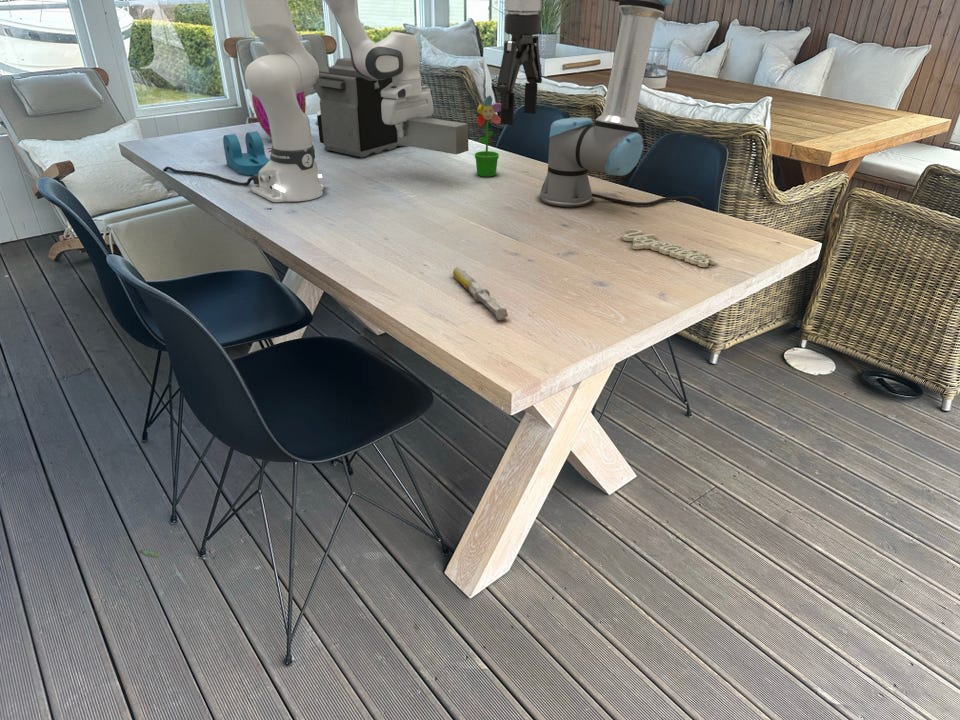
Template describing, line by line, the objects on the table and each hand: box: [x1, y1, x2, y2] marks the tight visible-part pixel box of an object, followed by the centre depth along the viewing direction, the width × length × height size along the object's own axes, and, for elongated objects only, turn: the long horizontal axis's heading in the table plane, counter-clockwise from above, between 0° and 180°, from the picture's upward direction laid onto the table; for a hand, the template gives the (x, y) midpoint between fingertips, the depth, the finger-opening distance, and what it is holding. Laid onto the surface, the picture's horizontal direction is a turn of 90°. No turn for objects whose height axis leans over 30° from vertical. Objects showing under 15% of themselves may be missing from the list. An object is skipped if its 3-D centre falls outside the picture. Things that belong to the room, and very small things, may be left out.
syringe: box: [452, 266, 509, 321], centre depth 145 cm, size 25×4×3 cm, turn 21°
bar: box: [397, 117, 469, 155], centre depth 212 cm, size 24×6×8 cm, turn 52°
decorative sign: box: [622, 228, 715, 268], centre depth 169 cm, size 26×1×10 cm
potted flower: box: [474, 94, 502, 178], centre depth 220 cm, size 9×8×25 cm
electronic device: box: [312, 57, 406, 159], centre depth 250 cm, size 37×22×30 cm, turn 144°
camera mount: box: [222, 131, 271, 176], centre depth 226 cm, size 18×10×10 cm, turn 35°
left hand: (409, 134), depth 218 cm, fingers closed on bar, 6 cm apart
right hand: (518, 118), depth 154 cm, fingers open, 13 cm apart
